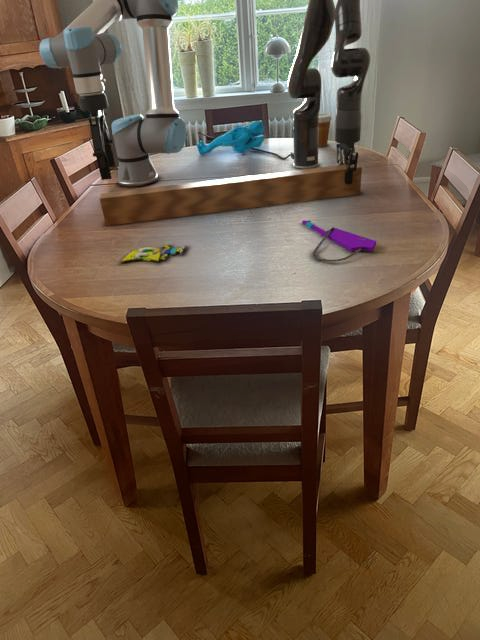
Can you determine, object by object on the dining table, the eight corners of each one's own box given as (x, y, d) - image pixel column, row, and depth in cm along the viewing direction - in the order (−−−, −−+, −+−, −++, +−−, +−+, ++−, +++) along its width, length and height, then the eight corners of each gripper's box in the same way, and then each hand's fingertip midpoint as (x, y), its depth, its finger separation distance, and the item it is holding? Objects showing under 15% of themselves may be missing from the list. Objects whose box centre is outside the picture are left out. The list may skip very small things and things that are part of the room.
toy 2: (202, 134, 216) (265, 114, 206) (210, 157, 221) (271, 139, 211) (191, 144, 203) (258, 123, 192) (200, 168, 208) (265, 149, 197)
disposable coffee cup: (306, 147, 207) (306, 118, 200) (312, 142, 214) (312, 113, 207) (328, 148, 203) (328, 117, 197) (333, 142, 211) (334, 113, 204)
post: (106, 226, 147) (99, 198, 142) (107, 220, 151) (101, 193, 146) (360, 194, 153) (362, 167, 148) (355, 189, 157) (356, 162, 152)
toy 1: (177, 259, 120) (120, 260, 122) (177, 262, 121) (121, 263, 123) (186, 242, 129) (132, 243, 131) (186, 245, 129) (133, 246, 131)
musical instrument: (359, 272, 111) (387, 230, 123) (358, 264, 110) (387, 222, 122) (269, 260, 124) (303, 223, 136) (267, 253, 122) (302, 216, 134)
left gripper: (100, 98, 119) (118, 183, 131) (109, 87, 140) (124, 161, 152) (69, 101, 119) (90, 186, 130) (83, 89, 140) (100, 163, 151)
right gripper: (368, 128, 137) (365, 186, 147) (352, 119, 149) (349, 173, 159) (343, 131, 137) (341, 189, 146) (328, 121, 149) (327, 176, 158)
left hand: (108, 172), depth 141 cm, fingers open, 13 cm apart
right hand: (345, 181), depth 152 cm, fingers closed on post, 5 cm apart
